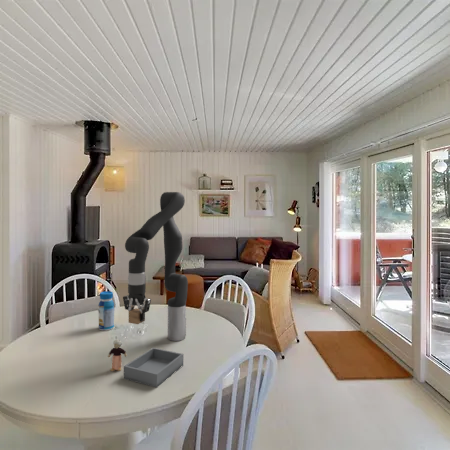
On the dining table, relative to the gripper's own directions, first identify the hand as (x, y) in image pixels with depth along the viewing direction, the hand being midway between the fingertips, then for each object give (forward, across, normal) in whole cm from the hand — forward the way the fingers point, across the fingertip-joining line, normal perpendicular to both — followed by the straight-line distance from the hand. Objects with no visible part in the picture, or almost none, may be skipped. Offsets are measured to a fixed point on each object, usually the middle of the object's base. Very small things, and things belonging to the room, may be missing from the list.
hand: (136, 320), depth 150 cm
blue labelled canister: (+18, +39, -23) cm, 48 cm away
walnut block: (+1, 0, 0) cm, 1 cm away
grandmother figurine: (+17, 0, +12) cm, 21 cm away
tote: (+17, -15, +7) cm, 24 cm away
